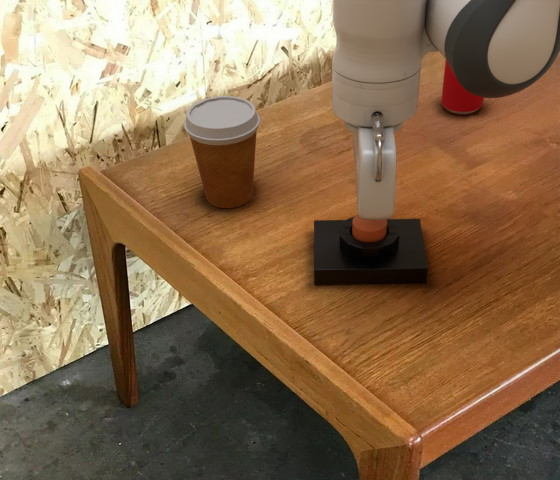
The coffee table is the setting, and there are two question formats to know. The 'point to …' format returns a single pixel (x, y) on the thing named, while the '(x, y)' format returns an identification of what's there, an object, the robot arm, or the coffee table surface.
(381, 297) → the coffee table surface
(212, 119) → the disposable coffee cup
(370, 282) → the housing
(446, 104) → the beverage can
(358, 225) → the button
